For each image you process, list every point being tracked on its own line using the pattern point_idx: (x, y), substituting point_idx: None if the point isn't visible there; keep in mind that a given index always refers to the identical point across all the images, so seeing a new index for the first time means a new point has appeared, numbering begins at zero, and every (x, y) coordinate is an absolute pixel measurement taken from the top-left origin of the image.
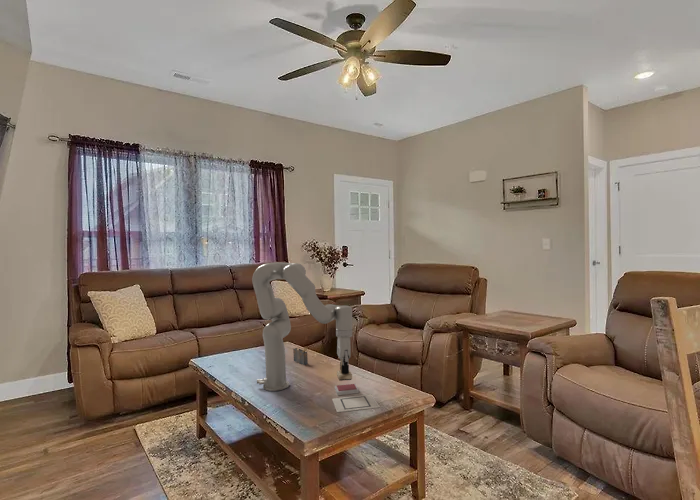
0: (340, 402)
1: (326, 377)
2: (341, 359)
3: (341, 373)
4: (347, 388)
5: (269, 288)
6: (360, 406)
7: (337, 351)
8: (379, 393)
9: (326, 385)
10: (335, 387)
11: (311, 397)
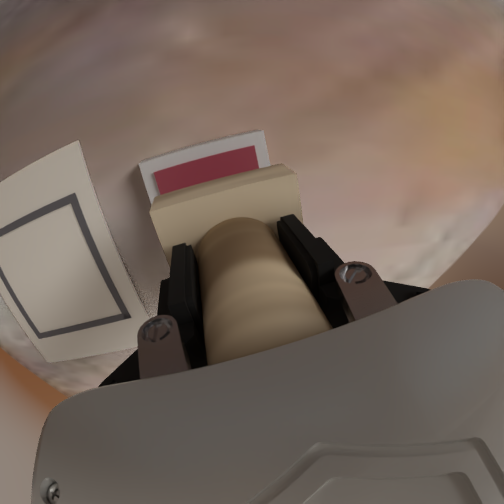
0: (35, 203)
1: (432, 93)
2: (236, 352)
3: (209, 230)
4: None
5: None
6: (23, 302)
7: (472, 349)
8: None
9: (325, 76)
10: (227, 139)
11: (119, 8)
